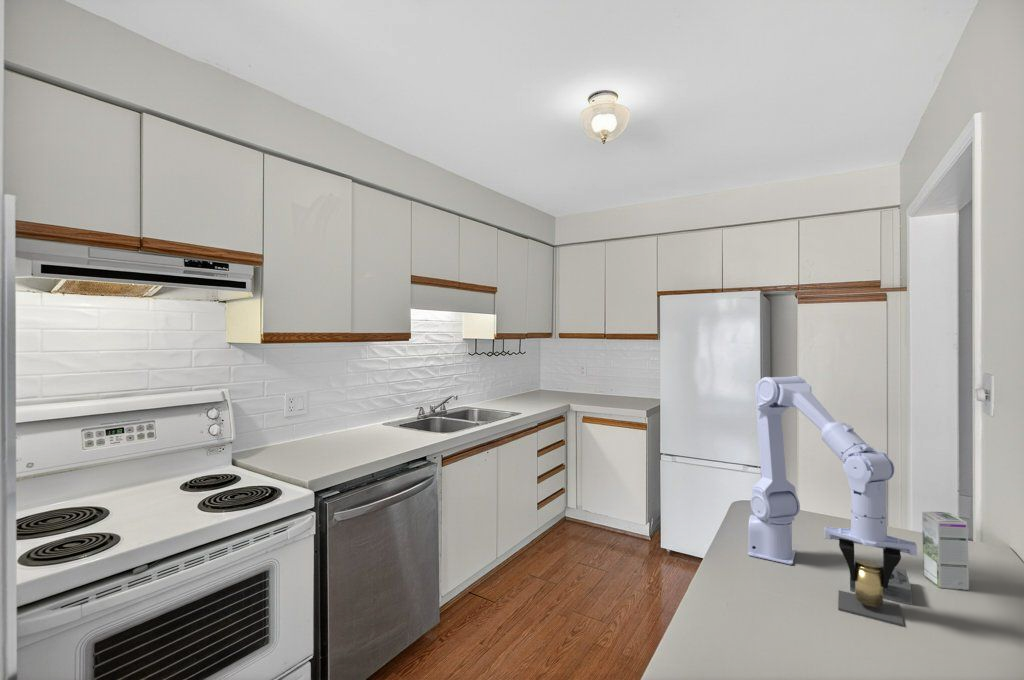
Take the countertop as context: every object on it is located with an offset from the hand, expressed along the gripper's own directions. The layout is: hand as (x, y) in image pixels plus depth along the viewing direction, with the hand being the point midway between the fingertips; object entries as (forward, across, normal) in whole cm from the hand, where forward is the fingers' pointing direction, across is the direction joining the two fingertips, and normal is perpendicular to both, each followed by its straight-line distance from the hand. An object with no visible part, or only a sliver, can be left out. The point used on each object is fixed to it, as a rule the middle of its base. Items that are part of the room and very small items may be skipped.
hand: (868, 582), depth 96 cm
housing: (+5, +2, +11) cm, 12 cm away
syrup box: (+5, +14, +21) cm, 26 cm away
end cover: (+4, 0, 0) cm, 4 cm away
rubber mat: (+5, 0, 0) cm, 5 cm away
